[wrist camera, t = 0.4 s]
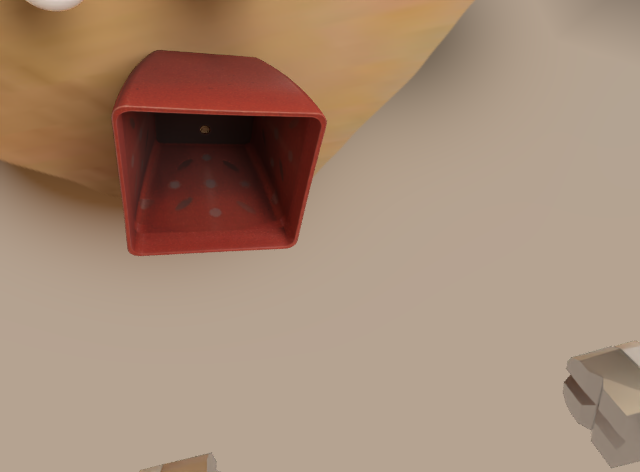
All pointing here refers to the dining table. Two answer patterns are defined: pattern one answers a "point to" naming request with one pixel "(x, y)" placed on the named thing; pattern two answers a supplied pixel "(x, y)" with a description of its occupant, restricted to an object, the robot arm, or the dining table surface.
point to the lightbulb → (55, 4)
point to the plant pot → (213, 154)
